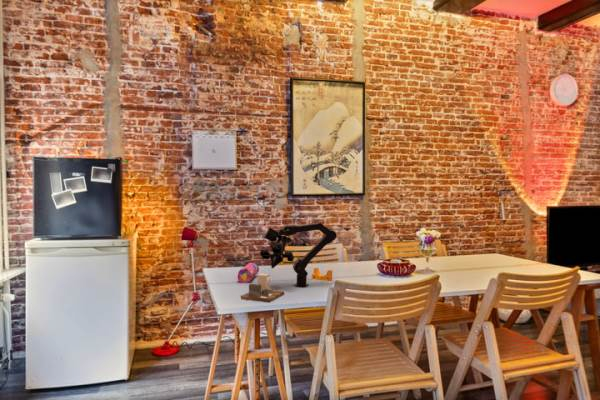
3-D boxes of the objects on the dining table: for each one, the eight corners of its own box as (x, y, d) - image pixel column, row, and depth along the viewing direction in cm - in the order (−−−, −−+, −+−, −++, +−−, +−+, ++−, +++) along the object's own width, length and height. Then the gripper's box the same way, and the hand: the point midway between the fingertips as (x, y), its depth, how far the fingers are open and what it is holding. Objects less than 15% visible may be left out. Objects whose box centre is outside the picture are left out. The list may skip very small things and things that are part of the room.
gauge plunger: (261, 290, 228) (261, 273, 228) (275, 291, 225) (276, 274, 225) (257, 292, 224) (257, 274, 224) (272, 293, 221) (272, 276, 221)
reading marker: (263, 294, 218) (263, 285, 218) (268, 295, 217) (268, 286, 217) (262, 295, 217) (262, 286, 217) (267, 295, 216) (267, 287, 216)
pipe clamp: (311, 279, 267) (312, 268, 267) (315, 277, 271) (315, 267, 271) (328, 281, 260) (328, 271, 260) (332, 280, 264) (332, 270, 264)
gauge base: (257, 291, 234) (257, 277, 234) (284, 294, 228) (284, 280, 228) (240, 298, 217) (240, 284, 217) (269, 302, 211) (269, 287, 211)
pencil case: (252, 283, 251) (252, 268, 251) (236, 283, 252) (236, 268, 252) (259, 276, 273) (259, 262, 273) (244, 275, 274) (245, 261, 274)
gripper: (261, 235, 242) (252, 257, 232) (292, 237, 235) (284, 260, 225) (267, 247, 249) (258, 269, 239) (297, 249, 243) (289, 272, 233)
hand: (272, 267), depth 234 cm, fingers closed
